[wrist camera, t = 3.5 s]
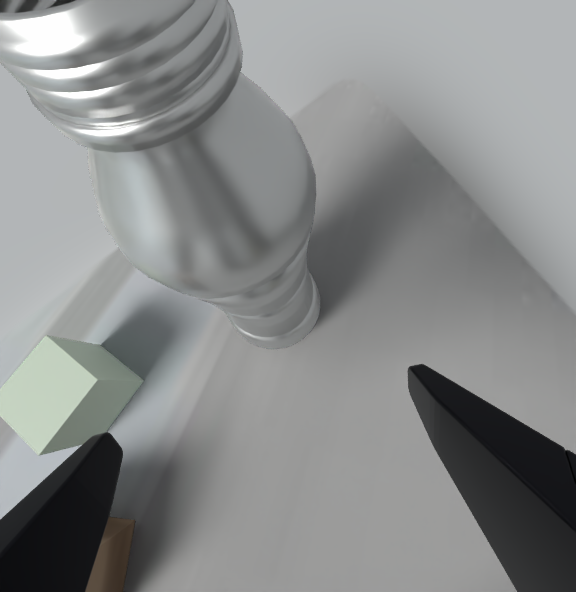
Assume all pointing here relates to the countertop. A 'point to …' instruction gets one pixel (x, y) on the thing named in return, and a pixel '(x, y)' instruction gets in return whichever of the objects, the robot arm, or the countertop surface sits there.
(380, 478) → the countertop surface
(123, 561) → the walnut block
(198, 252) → the plastic bottle
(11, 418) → the sage block
